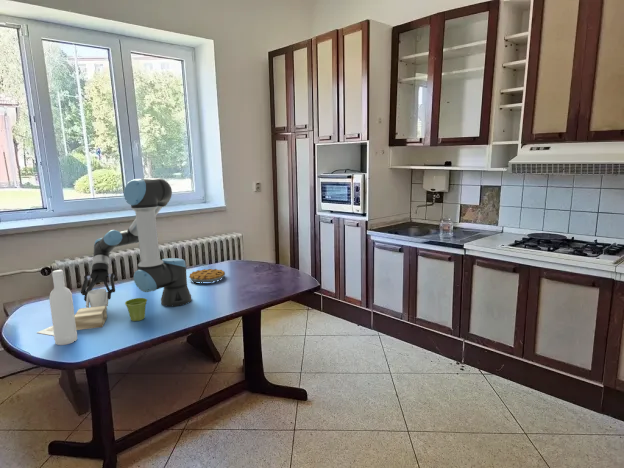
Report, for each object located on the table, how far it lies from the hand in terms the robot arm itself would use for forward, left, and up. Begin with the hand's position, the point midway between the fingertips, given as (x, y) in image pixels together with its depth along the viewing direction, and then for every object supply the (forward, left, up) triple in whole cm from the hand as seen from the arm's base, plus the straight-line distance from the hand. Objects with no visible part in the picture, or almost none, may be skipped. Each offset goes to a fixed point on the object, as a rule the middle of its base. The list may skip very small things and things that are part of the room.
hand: (97, 305), depth 190 cm
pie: (-21, -64, -4) cm, 67 cm away
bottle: (-12, +28, -4) cm, 31 cm away
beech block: (-8, +11, -4) cm, 14 cm away
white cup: (+2, -3, -4) cm, 5 cm away
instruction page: (+1, +21, -4) cm, 22 cm away
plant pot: (-24, 0, -4) cm, 24 cm away
